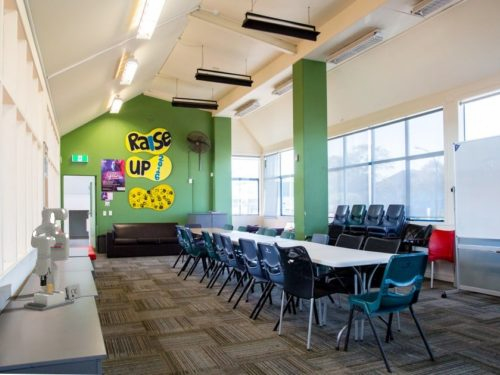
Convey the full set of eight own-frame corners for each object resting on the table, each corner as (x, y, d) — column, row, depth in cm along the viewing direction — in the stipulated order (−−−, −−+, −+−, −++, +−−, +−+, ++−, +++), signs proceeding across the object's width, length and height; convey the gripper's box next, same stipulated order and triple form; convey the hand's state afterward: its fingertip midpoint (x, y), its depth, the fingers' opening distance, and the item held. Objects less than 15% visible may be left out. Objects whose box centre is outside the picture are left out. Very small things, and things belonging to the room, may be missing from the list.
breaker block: (23, 307, 247) (23, 292, 247) (54, 299, 266) (54, 286, 266) (43, 310, 238) (43, 295, 238) (74, 303, 257) (74, 289, 257)
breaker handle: (46, 292, 251) (46, 284, 252) (50, 292, 254) (50, 283, 254) (48, 293, 250) (48, 285, 251) (52, 292, 253) (52, 284, 253)
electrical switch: (69, 300, 265) (69, 285, 265) (64, 300, 267) (63, 286, 268) (81, 297, 273) (81, 283, 274) (76, 297, 275) (75, 283, 276)
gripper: (30, 256, 256) (30, 285, 255) (46, 257, 249) (45, 287, 248) (41, 255, 263) (41, 283, 262) (56, 256, 256) (56, 285, 255)
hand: (43, 285), depth 255 cm, fingers closed
